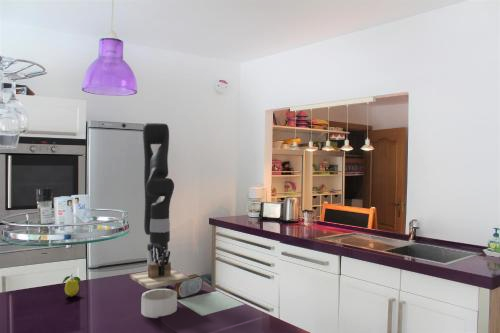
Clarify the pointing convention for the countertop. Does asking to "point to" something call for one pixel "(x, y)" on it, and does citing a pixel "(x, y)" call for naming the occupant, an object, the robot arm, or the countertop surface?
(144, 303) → the bowl
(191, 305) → the mat
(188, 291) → the tin
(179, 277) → the cover board
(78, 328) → the countertop surface
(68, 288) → the lemon
